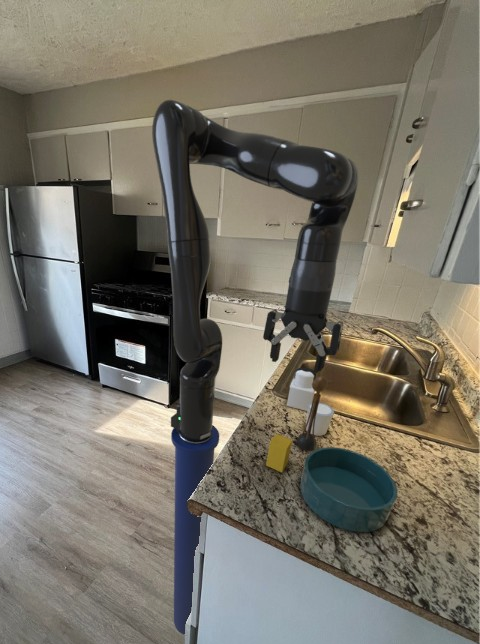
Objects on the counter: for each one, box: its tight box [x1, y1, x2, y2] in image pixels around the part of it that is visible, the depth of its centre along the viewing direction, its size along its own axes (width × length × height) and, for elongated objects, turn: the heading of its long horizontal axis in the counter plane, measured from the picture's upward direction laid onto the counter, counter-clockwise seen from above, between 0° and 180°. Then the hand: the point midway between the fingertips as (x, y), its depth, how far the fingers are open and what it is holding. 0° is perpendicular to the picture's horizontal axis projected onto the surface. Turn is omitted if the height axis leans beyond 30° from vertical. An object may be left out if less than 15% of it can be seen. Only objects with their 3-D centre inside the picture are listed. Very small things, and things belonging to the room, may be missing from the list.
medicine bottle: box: [286, 367, 317, 412], centre depth 98 cm, size 7×7×12 cm
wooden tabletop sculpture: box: [295, 375, 334, 452], centre depth 78 cm, size 6×5×20 cm
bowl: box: [299, 446, 398, 533], centre depth 66 cm, size 17×17×6 cm
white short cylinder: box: [305, 402, 335, 437], centre depth 87 cm, size 7×7×7 cm
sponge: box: [265, 433, 293, 473], centre depth 73 cm, size 4×4×7 cm
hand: (294, 365), depth 64 cm, fingers open, 8 cm apart
